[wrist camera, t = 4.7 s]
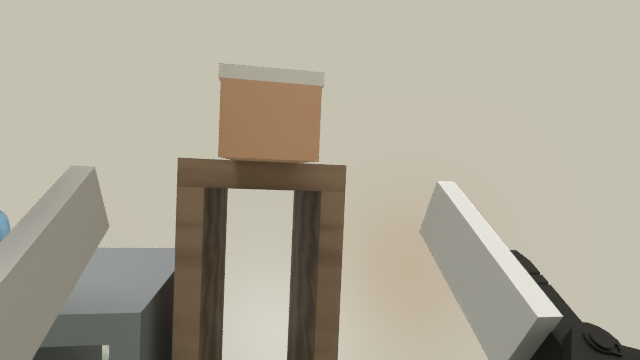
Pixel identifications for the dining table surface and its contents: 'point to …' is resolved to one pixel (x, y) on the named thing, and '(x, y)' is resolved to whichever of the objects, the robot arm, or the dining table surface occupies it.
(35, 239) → the robot arm
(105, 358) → the dining table surface
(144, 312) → the grey bench
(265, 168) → the walnut stand
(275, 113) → the slim box
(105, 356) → the dining table surface
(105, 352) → the dining table surface
